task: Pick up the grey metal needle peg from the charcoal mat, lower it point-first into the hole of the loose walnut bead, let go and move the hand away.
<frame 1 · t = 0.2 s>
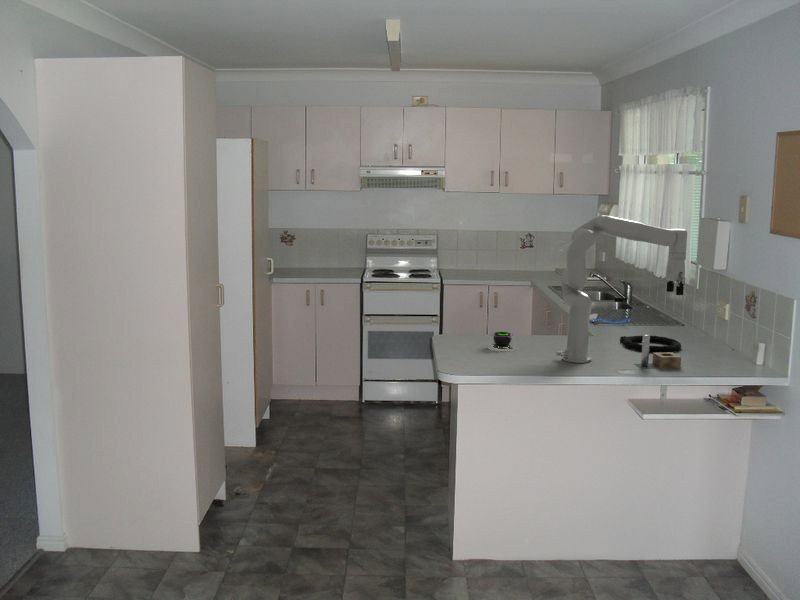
hand: (674, 293, 359), 31 cm above the worktop, tool pointing down, fingers open, 9 cm apart
toy cauldron: (502, 349, 383), on the worktop
cable lock: (649, 347, 389), on the worktop
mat: (657, 367, 349), on the worktop
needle: (644, 366, 348), resting on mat
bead: (666, 365, 349), resting on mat
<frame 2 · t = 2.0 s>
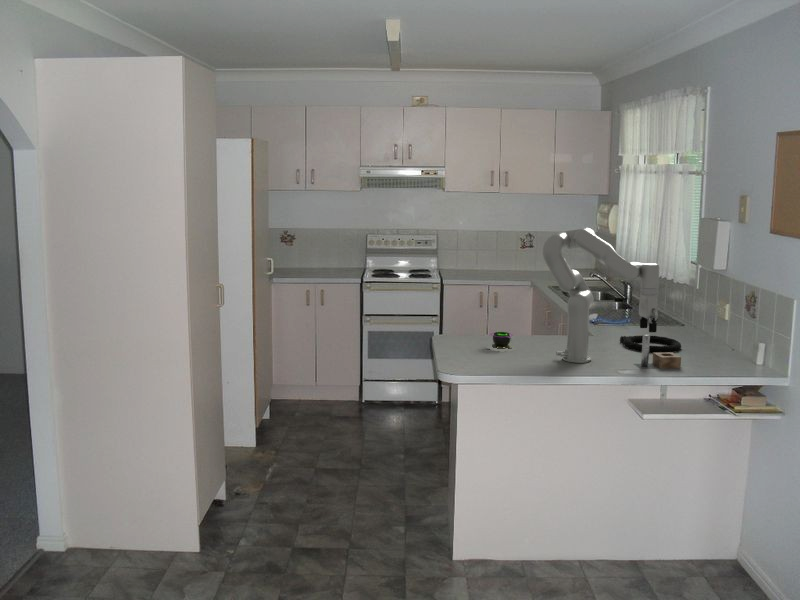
hand: (648, 330, 345), 17 cm above the worktop, tool pointing down, fingers open, 9 cm apart
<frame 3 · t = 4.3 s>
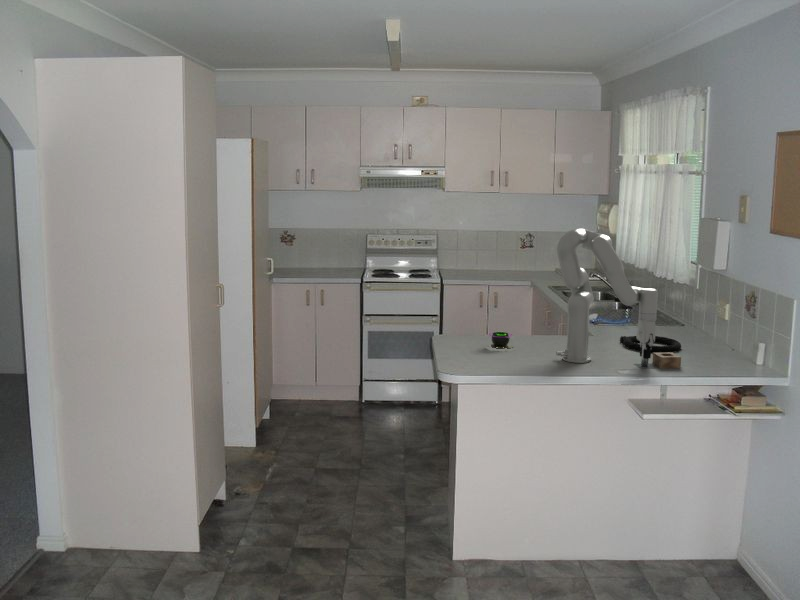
hand: (645, 356, 347), 5 cm above the worktop, tool pointing down, fingers closed on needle, 3 cm apart
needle: (644, 366, 348), resting on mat, touching gripper
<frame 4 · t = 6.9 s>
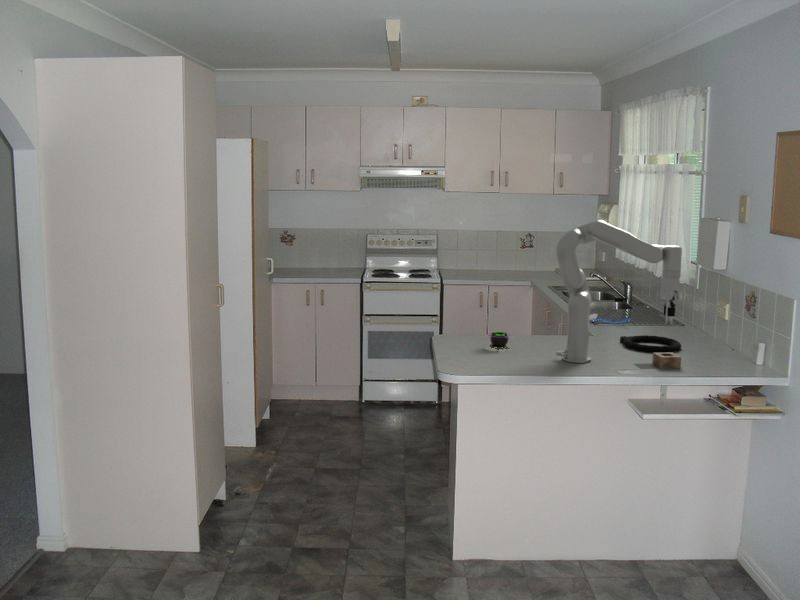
hand: (669, 315, 345), 23 cm above the worktop, tool pointing down, fingers closed on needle, 3 cm apart
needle: (668, 324, 346), point 19 cm above the worktop, touching gripper
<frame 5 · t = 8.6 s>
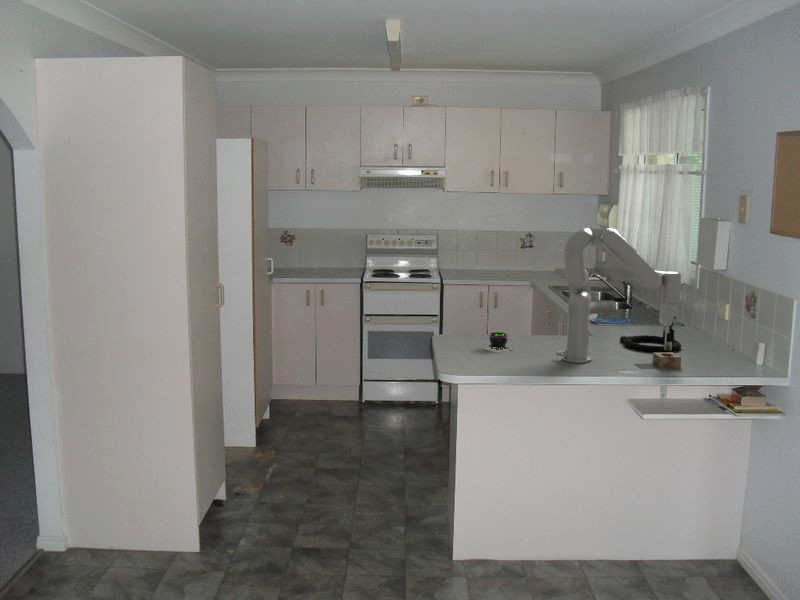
hand: (668, 340, 347), 12 cm above the worktop, tool pointing down, fingers closed on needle, 3 cm apart
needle: (667, 349, 348), point 8 cm above the worktop, touching gripper
when the fingers open (7 cm above the worktop, at t = 9.9 s): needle drops 2 cm, resting on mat.
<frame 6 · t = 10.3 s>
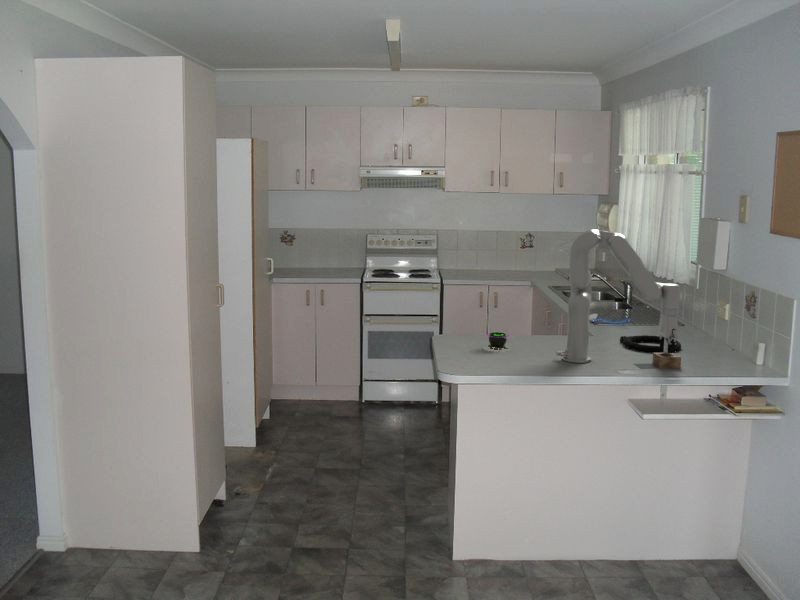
hand: (667, 350, 348), 7 cm above the worktop, tool pointing down, fingers open, 7 cm apart
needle: (666, 365, 349), point 1 cm above the worktop, touching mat
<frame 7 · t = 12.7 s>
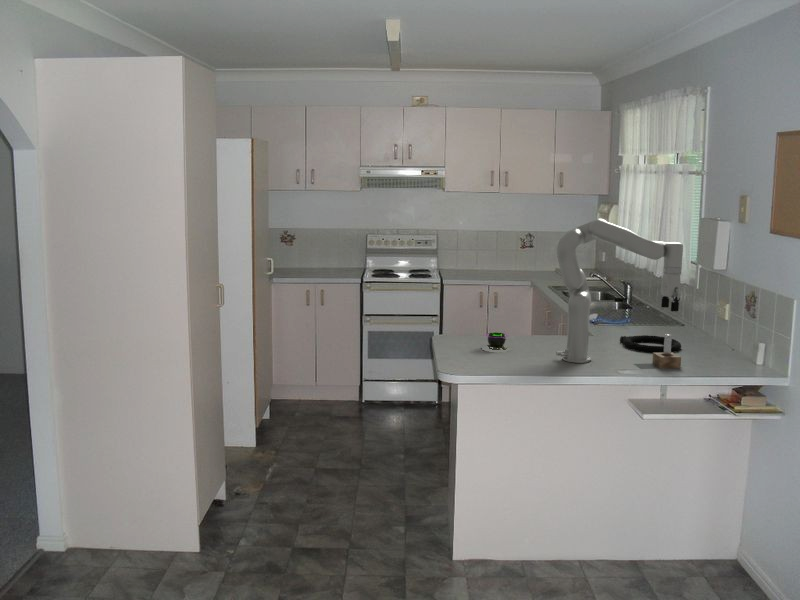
hand: (669, 309, 345), 26 cm above the worktop, tool pointing down, fingers open, 9 cm apart
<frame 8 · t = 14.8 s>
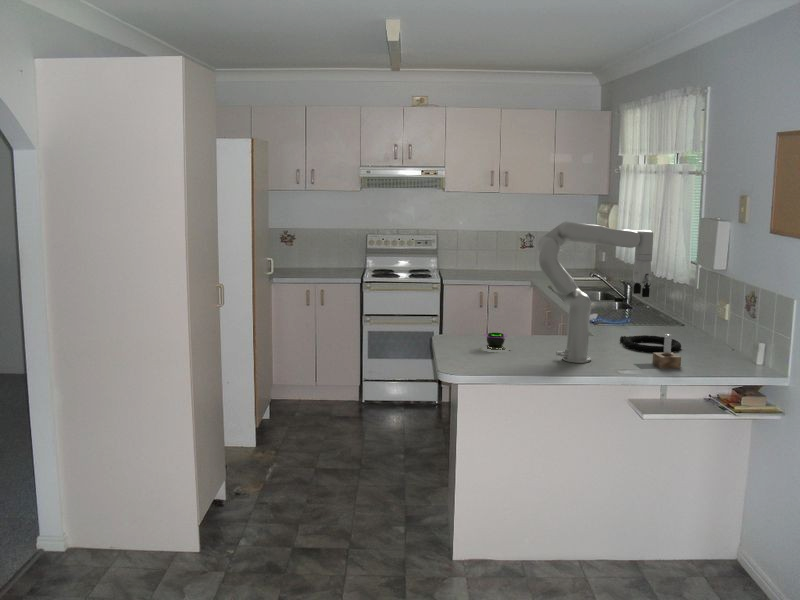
hand: (641, 295, 356), 30 cm above the worktop, tool pointing down, fingers open, 9 cm apart
at the end: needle 0.1 cm from the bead (horizontally); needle point 0.5 cm above the worktop; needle tilted 0° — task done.
